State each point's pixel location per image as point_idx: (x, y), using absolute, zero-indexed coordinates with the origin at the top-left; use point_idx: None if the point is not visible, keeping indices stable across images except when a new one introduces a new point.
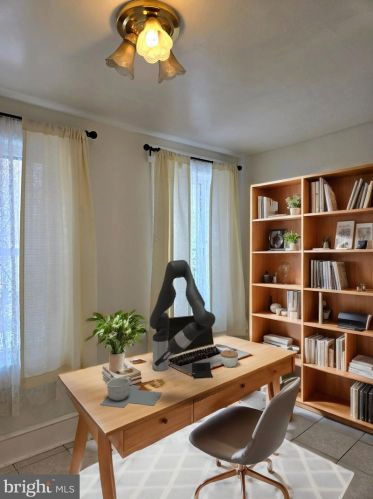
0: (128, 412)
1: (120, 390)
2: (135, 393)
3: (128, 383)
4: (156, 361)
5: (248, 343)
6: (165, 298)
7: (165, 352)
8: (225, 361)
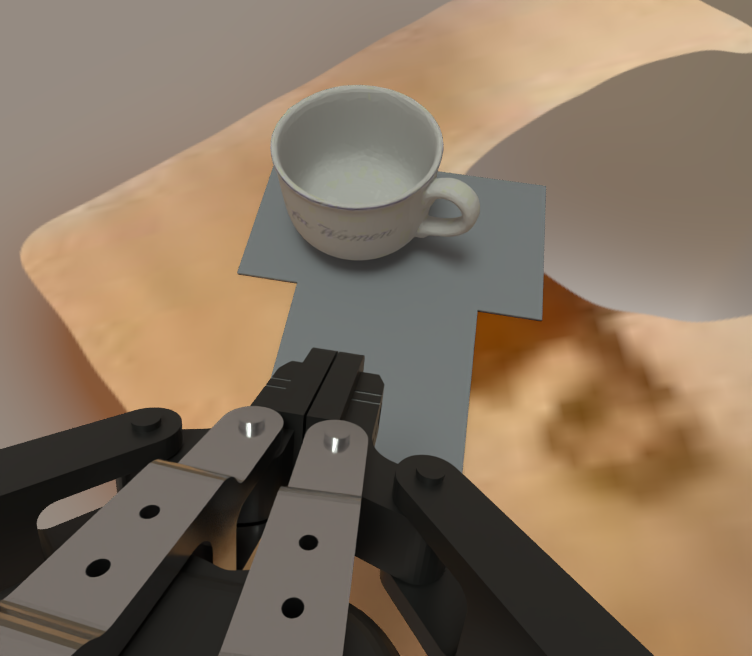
0: (180, 310)
1: (282, 189)
2: (422, 304)
3: (336, 210)
4: (300, 374)
5: None
6: None
7: (165, 599)
8: None
